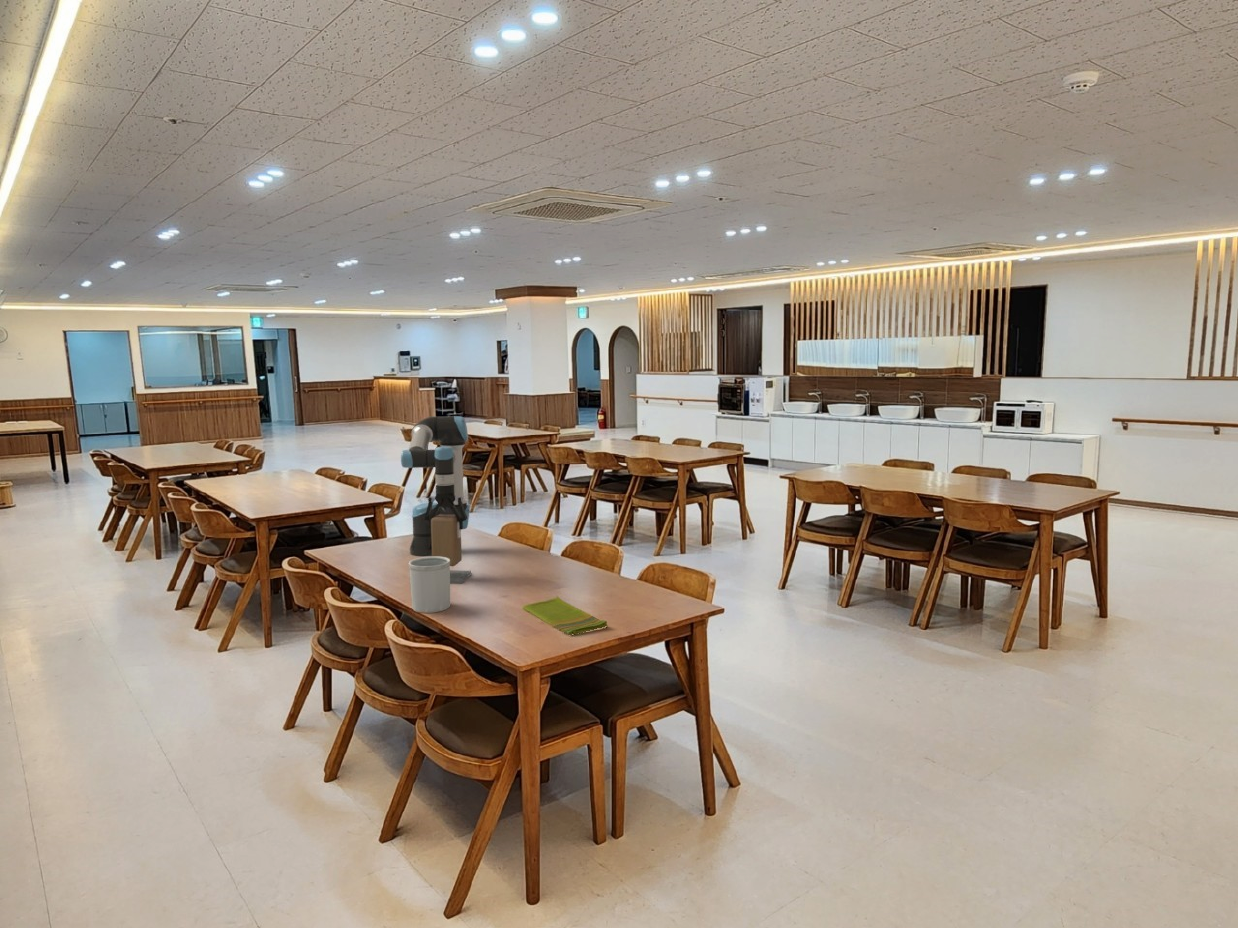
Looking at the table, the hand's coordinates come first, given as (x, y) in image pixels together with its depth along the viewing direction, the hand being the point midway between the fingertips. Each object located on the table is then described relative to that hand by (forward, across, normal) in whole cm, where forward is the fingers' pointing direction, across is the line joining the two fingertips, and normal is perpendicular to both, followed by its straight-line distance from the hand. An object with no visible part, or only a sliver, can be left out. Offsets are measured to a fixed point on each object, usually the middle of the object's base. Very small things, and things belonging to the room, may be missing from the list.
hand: (446, 537), depth 329 cm
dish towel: (+19, +55, -50) cm, 77 cm away
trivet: (+18, 0, 0) cm, 18 cm away
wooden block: (+11, 0, 0) cm, 11 cm away
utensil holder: (+18, +5, -40) cm, 44 cm away
